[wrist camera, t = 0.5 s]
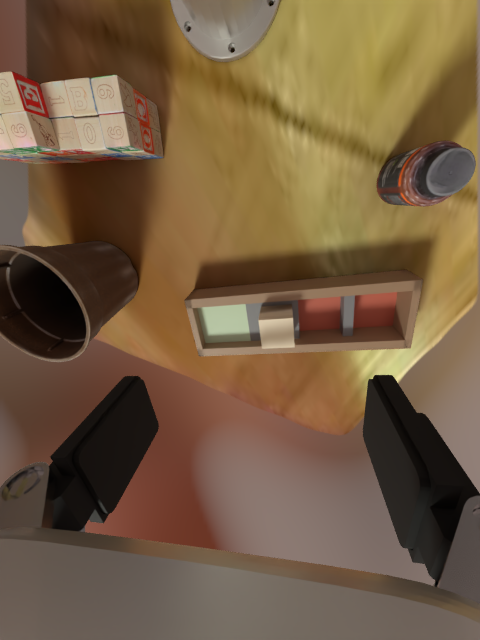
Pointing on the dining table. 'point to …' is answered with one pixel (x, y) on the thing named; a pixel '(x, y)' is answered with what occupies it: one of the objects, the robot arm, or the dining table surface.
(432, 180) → the supplement bottle
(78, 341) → the plant pot
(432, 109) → the dining table surface
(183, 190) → the dining table surface
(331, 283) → the track
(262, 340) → the birch block
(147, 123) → the stack of blocks
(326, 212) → the dining table surface
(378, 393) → the robot arm
